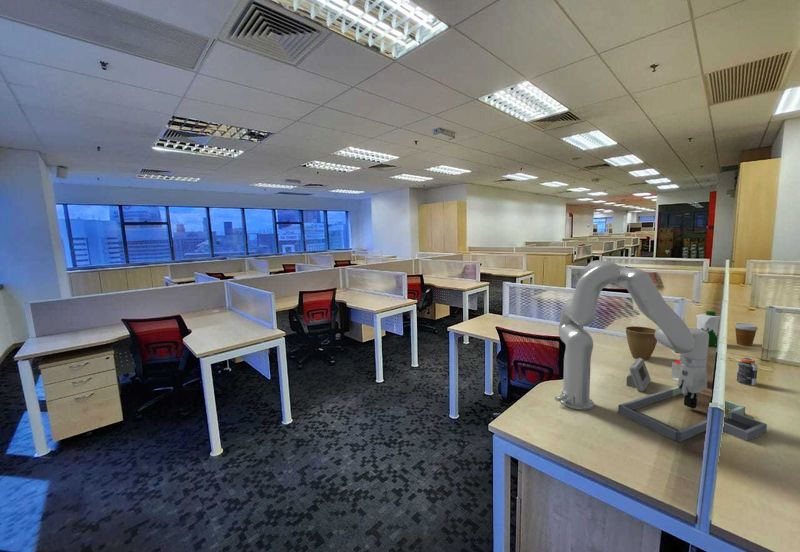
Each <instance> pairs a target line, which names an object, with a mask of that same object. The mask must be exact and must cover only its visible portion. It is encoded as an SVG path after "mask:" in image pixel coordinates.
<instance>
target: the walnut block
mask: <svg viewBox="0 0 800 552" xmlns="http://www.w3.org/2000/svg"><path fill="white" fill-rule="evenodd" d="M712 391H713V390H711V389H708V388H706V389H705V390H703V391H700V392H698V397H697V405H696V407H698V408H700V407H701V409H703V408H705V409H706V411H709V410H708V406H709V403H710V401H711V397H712ZM695 398H696V397H695ZM705 409H704V410H705Z"/></svg>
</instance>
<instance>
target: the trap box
mask: <svg viewBox="0 0 800 552" xmlns="http://www.w3.org/2000/svg"><path fill="white" fill-rule="evenodd" d="M681 390H682V389H679V387H678V385H677V386H673V387H671V388H669V389H664V390H662V391H659V392H655V393H653V394H649V395H646V396H642V397H640V398H637V399H633V400H631V401H627V402H624V403H620V404H618V406H617V407H618V409H617V413H619V414H621V415H623V416H625V417H627V418H629V419H630V420H633V421H635V422H637V423H639V424H641V425H643V426H645V427H647V428H649V429H650V430H653V431H655V432H657V433H659V434H661V435H663V436H665V437H667V438H669V439H672V440H673V441H675V442H677V443H680V442H682V441H685V440H687V439H690V438H693V437H695V436H696V434H697V435H699V434H698V433H700V432H702V431H704V432H706V424H707V419H706V420H702V421H700V422H698V423H695V424H693V425H690V426H688V427H685V428H683V429H680V430H679V429H677V428H675V427H674V426H671V425H669V424H667V423H665V422H662V421H661V420H659V419H656V418H654V417H652V416H649V415H648V414H646V413H643V412H641V411H639V410H637V409H639V408H642V407H645V406H647V405H651V404H655V403H657V402H659V401H660V402H661V401H663V400H665V399H668V398H671V397H674V396H678V395H682V394H681ZM687 392H688V391H687ZM724 400H725V408H724V409H726V410H728V409H730V410H728V411H727V417H726V418H724V427H723V431H722V432H724V433H726V434H729V435H730V434H731V436H733V437H736V438H738V439H740V440H742V441H745V442H749V441H751V440H753V439H755V438H757V437H759V436H761V435H760V434H762V435H764V434H766V433H767V428H768V427H767V426H768V424H767V423H765V422H762V421H759V420H756V419H755V418H751V417H749V416H746V415H745V414H746V406H743V405H741V404H738V403H735V402H732V401H729V400H727V399H724ZM765 432H766V433H765ZM702 433H703V432H702ZM763 433H764V434H763ZM700 434H701V433H700ZM694 435H695V436H694ZM758 435H759V436H758ZM756 436H757V437H756ZM752 438H753V439H752Z"/></svg>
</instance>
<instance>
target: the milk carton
mask: <svg viewBox="0 0 800 552" xmlns="http://www.w3.org/2000/svg"><path fill="white" fill-rule="evenodd" d="M695 317H696V322H697V323H696V329H701V330H704V331H707V332H708V334H709V344H708V347H713V346H712V345H715V344H716V346H718V334H719V332H718V331H719V324H720V319H721V316H720V315H716V311H714V310H713V311H711V310H706V311H705V313H699V314H696V315H695Z"/></svg>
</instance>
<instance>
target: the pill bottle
mask: <svg viewBox="0 0 800 552" xmlns="http://www.w3.org/2000/svg"><path fill="white" fill-rule="evenodd" d="M736 374H737V375H736V381H737V383H740V384H741V385H742V384H743V385H746V386H756V385H757V379H758V378H757V377H758V365H757V364H756V361H755V359H753V358H750V357H741V361H740V362H737V372H736Z"/></svg>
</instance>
